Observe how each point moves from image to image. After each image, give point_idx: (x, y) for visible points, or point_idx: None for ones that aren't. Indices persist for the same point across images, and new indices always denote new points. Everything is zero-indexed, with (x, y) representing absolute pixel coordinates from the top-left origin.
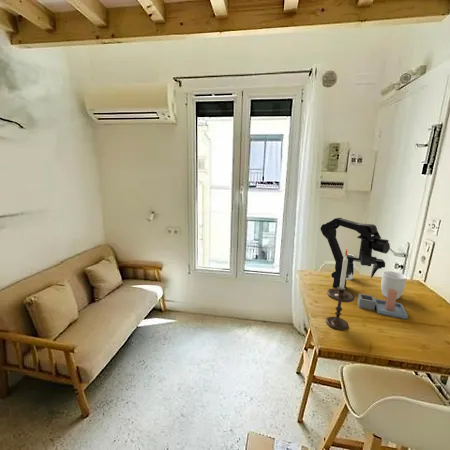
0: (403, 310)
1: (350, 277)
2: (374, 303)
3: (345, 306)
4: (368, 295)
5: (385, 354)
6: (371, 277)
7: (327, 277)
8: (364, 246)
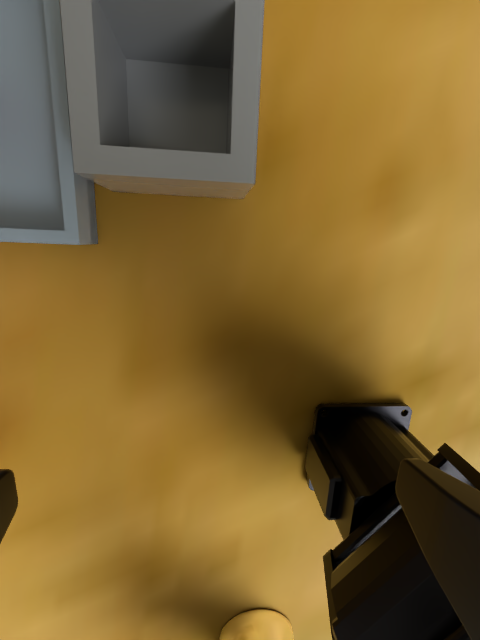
0: None
1: (243, 637)
2: None
3: (367, 49)
4: (136, 162)
5: None
6: (4, 469)
7: None
8: None
